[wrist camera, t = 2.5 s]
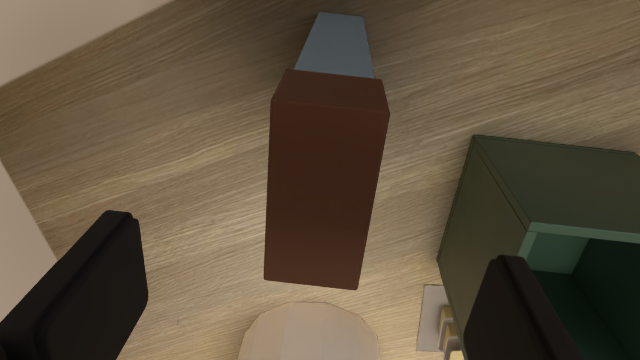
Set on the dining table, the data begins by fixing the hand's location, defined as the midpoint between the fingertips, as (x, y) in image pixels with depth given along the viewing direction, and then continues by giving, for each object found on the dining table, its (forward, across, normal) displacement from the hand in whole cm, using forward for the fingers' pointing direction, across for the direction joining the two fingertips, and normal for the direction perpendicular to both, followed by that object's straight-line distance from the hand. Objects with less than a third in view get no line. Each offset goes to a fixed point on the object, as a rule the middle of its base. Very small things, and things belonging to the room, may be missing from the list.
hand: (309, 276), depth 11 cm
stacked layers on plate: (+22, -16, +22) cm, 35 cm away
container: (+22, -1, +30) cm, 37 cm away
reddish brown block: (+7, 0, 0) cm, 7 cm away
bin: (+22, -17, +10) cm, 29 cm away
